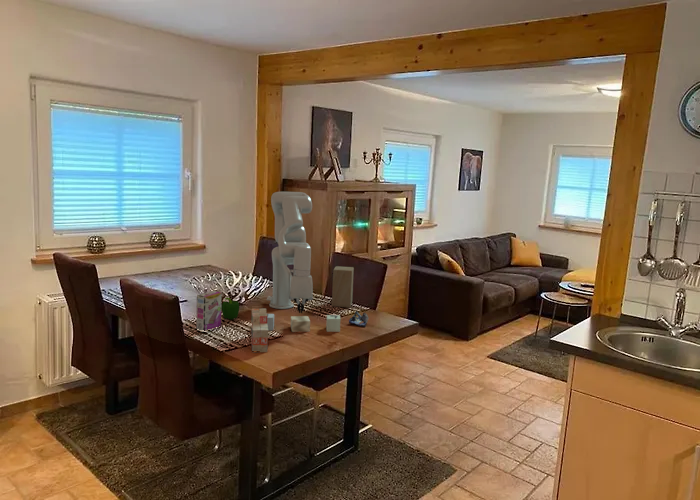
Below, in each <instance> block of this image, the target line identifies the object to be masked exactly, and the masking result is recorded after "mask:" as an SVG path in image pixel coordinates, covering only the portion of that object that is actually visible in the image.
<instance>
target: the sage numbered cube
mask: <svg viewBox="0 0 700 500" xmlns="http://www.w3.org/2000/svg"><path fill="white" fill-rule="evenodd" d="M325 325H326V328H325V329H326V332H327V333H329V332H333V333H334V332H335V333H338V332H339V333H340V332H341V315H340V314H337V315H336V314H335V315H334V314H326V323H325Z"/></svg>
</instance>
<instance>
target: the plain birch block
mask: <svg viewBox="0 0 700 500" xmlns="http://www.w3.org/2000/svg"><path fill="white" fill-rule="evenodd" d="M290 329H291V332H292V333H298V332H299V333H300V332H302V333H305V332H306V333H307V332H308V333H309V332H311V320H310V317H309V316H307V315H301V316H300V315H297V316H295V315H293V316H292V315H291V316H290Z"/></svg>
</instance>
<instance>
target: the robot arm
mask: <svg viewBox="0 0 700 500" xmlns="http://www.w3.org/2000/svg"><path fill="white" fill-rule="evenodd" d="M270 198H271V199H270V202H271V204H270V205H271V208H272V211H273V214H274V240H275V242H276V243H277V244H278V246H276V247H274V248H273V249H272V250H271V260H272V261H271V262H272V296H271V295H268V296H267V297H266V301H270V303H269V307H270V308H273V309H277V310H287V309H291V308H293V307H294V306H295V304H294V303H293V302H292V301H294V302H295V303H296V304H297V305H296V306H297V307H296V308H297V312H298V313H299V314H303V312H304V311H305V304H306V303H308V302H309V301H313V300H314V297H313V291H314V290H313V289H314V287H313V286H314V285H313V277H312V275H311V263H312V261H311V259H312V247H311V246H310V244H309V243H307V233H306V229H305V227H304V226H303V225H304V221H303V215H302V214H310V213H311V212H312V210H313V202H312V198H311V197H310V195H308V194H307V193H305V192H302V191H276V192H273V193H272V195H271V197H270ZM289 265H293V269H290V268H289V267H288V266H289ZM301 299H302V300H301ZM300 300H301V302H300Z"/></svg>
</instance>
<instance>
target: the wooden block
mask: <svg viewBox="0 0 700 500" xmlns="http://www.w3.org/2000/svg"><path fill="white" fill-rule="evenodd" d="M354 270H355V268H354V266H339V265H337V266H335V267H334V269H333V271H332V272H333V273H332V292H331V293H332V294H331V306H332V307H337V308H338V307H339V308H351V306H352V304H353V293H354V275H355V274H354V272H355V271H354Z"/></svg>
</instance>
